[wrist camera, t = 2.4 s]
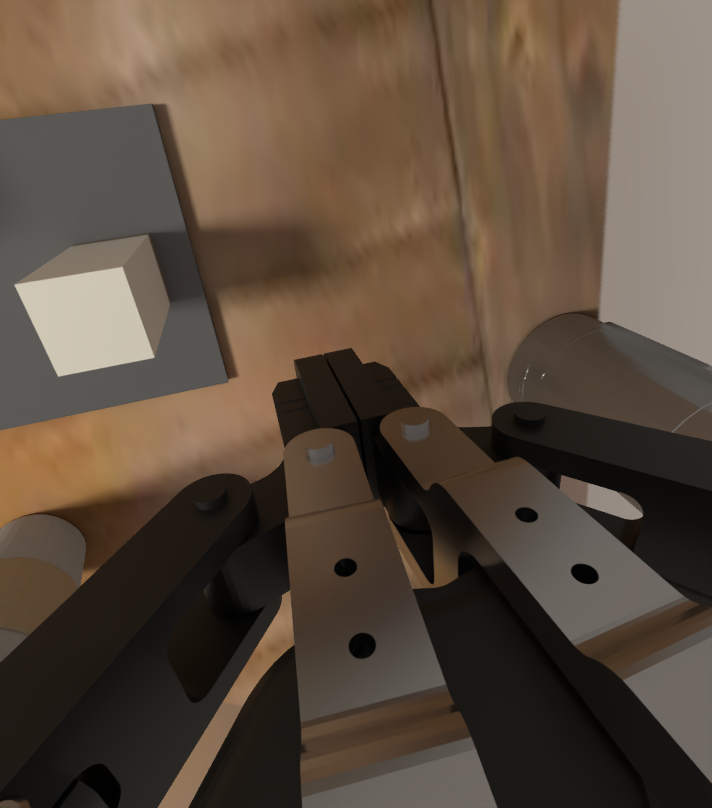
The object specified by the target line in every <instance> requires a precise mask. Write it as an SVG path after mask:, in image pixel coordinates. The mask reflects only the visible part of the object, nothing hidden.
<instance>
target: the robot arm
mask: <svg viewBox="0 0 712 808" xmlns="http://www.w3.org/2000/svg"><path fill="white" fill-rule="evenodd" d="M294 365H295V371H296V376H297V379H293V380H288V381H283V382H279V383H278V384H277V386H276V387H275V389H274V391H273V393H272V396H273V400H274V404H275V409H276V413H277V418H278V422H279V426H280V431H281V435H282V440H283V444H284V448H285V449H284V454H283V456H284V459H283V461H282V463H281V464H280V465H279V467H278V468H277V469H276V470H274V471H273V472H272V473H271V474H269V475H268V476H266V477H264V478H262V479H261V480H259V481H256V482H254V483H252V484H250V483H249V482H248V481H247V480H246V479H245V478H244V477H242V476H239V475H236V474H216V475H211V476H207V477H204V478H202V479H199V480H197V481H195V482H193V483H191V484H190V485H188V486H187V487H185V488H184V489H183V490H182V491H180V492H179V493H178V494H177V495H176V496H175V497H174V498H173V499H172V500H171V501H170V502H169V503H168V504H167V505H166V506H165V507H164V508H163V509H161V510H160V511H159V512H158V513H157V514H156V515H155V516H154V517H153V518H152V519H151V520H150V521H149V522H148V523H147V524H146V525H145V526H144V527H142V528H141V529H140V530H139V531H138V532H137V533H136V534H135V535H134V536H133V537H132V538H131V539H130V540H129V541H128V542H127V543H126V544H125V545H124V546H122V547H121V548H120V549H119V550H118V551H117V552H116V553H115V554H114V555H113V556H112V557H111V558H110V559H109V560H108V561H107V562H106V563H105V564H103V565H102V566H101V567H100V568H99V569H98V570H97V571H96V572H95V573H94V574H93V575H92V576H91V577H90V578H89V579H88V580H87V581H86V582H85V583H83V584H82V585H81V586H80V587H79V588H78V589H77V590H76V591H75V592H74V593H73V594H72V595H71V596H70V597H69V598H68V599H67V600H66V601H64V602H63V603H62V604H61V605H60V606H59V607H58V608H57V609H56V610H55V611H54V612H53V613H52V614H51V615H50V616H49V617H48V618H47V619H45V620H44V621H43V622H42V623H41V624H40V625H39V626H38V627H37V628H36V629H35V630H34V631H33V632H32V633H31V634H30V635H29V636H28V637H27V638H25V639H24V640H23V641H22V642H21V643H20V644H19V645H18V646H17V647H16V648H15V649H14V650H13V651H12V652H11V653H10V654H9V655H8V656H6V657H5V658H4V659H3V660H2V661H1V662H0V808H158V806H159V804H160V803H161V801H162V799H163V798H164V796H165V795H166V793H167V791H168V790H169V788H170V786H171V785H172V783H173V782H174V780H175V778H176V777H177V775H178V774H179V772H180V770H181V769H182V767H183V765H184V763H185V762H186V761H187V759H188V757H189V756H190V754H191V752H192V751H193V749H194V748H195V746H196V744H197V743H198V741H199V739H200V738H201V736H202V735H203V733H204V731H205V730H206V728H207V726H208V725H209V723H210V721H211V720H212V718H213V717H214V715H215V713H216V712H217V710H218V709H219V707H220V705H221V704H222V702H223V700H224V699H225V697H226V696H227V694H228V692H229V691H230V689H231V687H232V686H233V684H234V683H235V681H236V679H237V678H238V676H239V674H240V673H241V671H242V669H243V668H244V666H245V665H246V663H247V661H248V660H249V658H250V656H251V655H252V653H253V652H254V650H255V648H256V647H257V645H258V643H259V642H260V640H261V639H262V637H263V635H264V634H265V632H266V630H267V629H268V627H269V626H270V624H271V622H272V621H273V619H274V617H275V616H276V614H277V612H278V610H279V608H280V605H281V601H282V595H283V594H284V593H286V592H288V591H289V590H290V594H291V606H292V619H293V632H294V644H295V645H294V646H292V647H291V648H290V649H288V650H287V651H286V652H285V653H284V654H283V655H282V656H281V657H280V658H279V659H278V660H277V661H276V662H275V663H274V664H273V665H272V666H271V667H270V668H269V669H268V671H267V672H266V673H265V674H264V675H263V676H262V678H261V679H260V681H259V682H258V683H257V685H256V686H255V688H254V689H253V691H252V692H251V693H250V695H249V697H248V698H247V700H246V702H245V704H244V705H243V707H242V709H241V711H240V713H239V714H238V716H237V718H236V720H235V722H234V724H233V726H232V728H231V729H230V731H229V733H228V735H227V737H226V739H225V741H224V742H223V744H222V746H221V748H220V750H219V752H218V754H217V755H216V757H215V759H214V761H213V763H212V765H211V767H210V768H209V770H208V772H207V774H206V776H205V778H204V780H203V781H202V783H201V785H200V787H199V789H198V791H197V793H196V795H195V797H194V798H193V800H192V802H191V804H190V806H189V808H712V367H711V366H710V365H708V364H706V363H704V362H701V361H699V360H697V359H694V358H692V357H690V356H687V355H685V354H683V353H681V352H678V351H676V350H673V349H671V348H669V347H667V346H665V345H662V344H660V343H658V342H656V341H653V340H651V339H649V338H646V337H644V336H642V335H639V334H637V333H635V332H633V331H630V330H628V329H625V328H623V327H621V326H619V325H616V324H614V323H612V322H606V323H603V322H601V321H599V320H597V319H594V318H592V317H590V316H587V315H584V314H577V313H569V314H564V315H559V316H557V317H555V318H552V319H550V320H548V321H546V322H545V323H543V324H542V325H540V326H538V327H537V328H536V329H535V330H534V331H533V332H532V333H531V334H529V335H528V336H527V338H526V339H525V340H524V341H523V343H522V344H521V345H520V347H519V349H518V350H517V352H516V354H515V356H514V358H513V360H512V363H511V366H510V370H509V376H508V388H509V392H510V395H511V398H512V400H513V401H514V403H510V404H506V405H504V406H501V407H500V408H498V409H497V410H496V411H495V412H494V413H493V415H492V426H490V427H457V426H456V425H455V424H454V423H453V422H452V421H450V420H449V419H448V418H447V417H446V416H445V415H444V414H443V413H441V412H439V411H437V410H434V409H430V408H425V407H420V406H419V405H418V404H417V402H416V401H415V400H414V399H413V397H412V396H411V395H410V394H409V392H408V391H407V390H406V389H405V387H403V386H402V384H401V382H400V381H399V380H398V379H396V376H395V375H394V374H393V372H392V371H391V370H390V369H389V368H388V367H386V366H383V365H381V364H379V363H377V362H371V363H366V364H362V362H361V361H360V359H359V358H358V356H357V355H356V354H355V352H354V351H353V349H352V348H349V349H344V350H339V351H334V352H330V353H325V354H324V355H322V354H320V355H316V356H311V357H306V358H301V359H297V360H294ZM561 475H564V476H567V477H570V478H574V479H577V480H580V481H584V482H587V483H590V484H594V485H598V486H600V487H604V488H607V489H611V490H614V491H617V492H618V493H619V494H620V495H621V496H622V497H624V498H625V499H626V500H627V501H628V502H630V503H631V504H632V505H633V506H634V507H635V508H636V509H638V510H639V511H640V512H641V513H642V514H643V517H642V518H640V519H636V520H628V519H623V518H620V517H617V516H614V515H611V514H608V513H605V512H602V511H599V510H596V509H593V508H590V507H586V506H583V505H580V504H577V503H575V502H574V501H572V500H571V499H570V498H569V497H568V496H567V495H565V494H564V493H563V492H562V491H561V490H560V482H561ZM384 507H386V509H387V512H388V515H389V521H388V518H387V516H386V513H385V510H384ZM397 545H398V547H399V549H400V551H401V552H402V554H403V556H404V557H405V559H406V561H407V563H408V564H409V566H410V568H411V570H412V571H413V573H414V575H415V576H416V578H417V580H418V582H419V583H420V585H421V587H422V588H421V589H412V586H411V583H410V581H409V578H408V575H407V572H406V569H405V567H404V564H403V561H402V558H401V555H400V552H399V550H398V547H397Z"/></svg>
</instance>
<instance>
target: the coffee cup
mask: <svg viewBox="0 0 712 808" xmlns="http://www.w3.org/2000/svg"><path fill="white" fill-rule="evenodd" d="M85 554H86V542H85V539H84V537H83V535H82V534H81V532H80V531H79V530H78V529H77V528H76V527H75V526H73V525H72V524H71V523H69V522H67V521H65V520H64V519H61V518H58V517H56V516H51V515H45V514H35V515H28V516H24V517H20V518H18V519H15V520H13V521H11V522H9V523H8V524H6V525H4V526H3V527H2V528H1V529H0V662H1V661H2V660H3V659H4V658H5V657H6V656H8V655H9V654H10V653H11V652H12V651H13V650H14V649H15V648H16V647H17V646H18V645H19V644H20V643H21V642H22V641H23V640H24V639H25V638H27V637H28V636H29V635H30V634H31V633H32V632H33V631H34V630H35V629H36V628H37V627H38V626H39V625H40V624H41V623H42V622H43V621H44V620H45V619H47V618H48V617H49V616H50V615H51V614H52V613H53V612H54V611H55V610H56V609H57V608H58V607H59V606H60V605H61V604H62V603H63V602H64V601H66V600H67V599H68V598H69V597H70V596H71V595H72V594H73V593H74V592H75V591H76V590H77V589H78V588H79V587H80V585H81V578H82V572H83V566H84V560H85Z"/></svg>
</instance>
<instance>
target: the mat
mask: <svg viewBox="0 0 712 808" xmlns="http://www.w3.org/2000/svg"><path fill="white" fill-rule="evenodd" d="M147 233H150V237H151V240H152V243H153V246H154V249H155V253H156V256H157V259H158V262H159V265H160V268H161V272H162V275H163V278H164V281H165V284H166V287H167V291H168V294H169V297H170V300H171V304H170V307H169V311H168V314H167V317H166V321H165V324H164V328H163V331H162V334H161V338H160V341H159V345H158V348H157V351H156V355H155V358H151V359H146V360H141V361H136V362H131V363H125V364H120V365H115V366H110V367H105V368H100V369H95V370H90V371H85V372H80V373H74V374H69V375H64V376H59V377H58V375H57V373H56V371H55V369H54V367H53V365H52V363H51V361H50V358H49V356H48V354H47V352H46V350H45V348H44V346H43V344H42V342H41V340H40V338H39V335H38V333H37V331H36V329H35V327H34V325H33V323H32V321H31V319H30V317H29V315H28V312H27V310H26V308H25V306H24V304H23V302H22V300H21V298H20V296H19V294H18V291H17V289H16V287H15V285H14V284H16V283H17V282H19V281H20V280H22V279H23V278H25V277H26V276H28V275H29V274H31V273H32V272H34V271H35V270H37V269H38V268H40V267H41V266H43V265H44V264H46V263H47V262H49V261H50V260H52V259H53V258H55V257H56V256H58V255H59V254H61V253H62V252H64V251H65V250H67V249H68V248H70V247H71V246H73V245H75V244H81V243H88V242H94V241H101V240H108V239H114V238H121V237H127V236H134V235H140V234H147ZM227 382H228V376H227V372H226V368H225V365H224V361H223V358H222V354H221V350H220V347H219V343H218V339H217V336H216V332H215V329H214V325H213V321H212V318H211V314H210V310H209V307H208V303H207V300H206V296H205V292H204V289H203V285H202V281H201V278H200V274H199V271H198V267H197V263H196V260H195V256H194V252H193V249H192V245H191V241H190V238H189V234H188V231H187V227H186V223H185V220H184V216H183V212H182V209H181V205H180V202H179V198H178V194H177V191H176V187H175V183H174V180H173V176H172V173H171V169H170V165H169V162H168V158H167V154H166V151H165V147H164V143H163V140H162V136H161V133H160V129H159V125H158V122H157V118H156V114H155V111H154V107H153V104H144V105H135V106H125V107H116V108H107V109H98V110H88V111H79V112H70V113H61V114H51V115H42V116H33V117H24V118H14V119H5V120H0V430H3V429H8V428H13V427H18V426H22V425H27V424H32V423H37V422H41V421H46V420H51V419H56V418H60V417H65V416H70V415H75V414H79V413H84V412H89V411H94V410H98V409H103V408H108V407H113V406H117V405H122V404H127V403H132V402H136V401H141V400H146V399H151V398H156V397H160V396H165V395H170V394H175V393H179V392H184V391H189V390H194V389H198V388H203V387H208V386H213V385H217V384H222V383H227Z"/></svg>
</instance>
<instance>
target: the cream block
mask: <svg viewBox="0 0 712 808" xmlns="http://www.w3.org/2000/svg"><path fill="white" fill-rule="evenodd" d="M14 285H15V287H16V289H17V291H18V294H19V296H20V298H21V300H22V302H23V304H24V306H25V308H26V310H27V312H28V315H29V317H30V319H31V321H32V323H33V325H34V327H35V329H36V331H37V333H38V335H39V338H40V340H41V342H42V344H43V346H44V348H45V350H46V352H47V354H48V356H49V358H50V361H51V363H52V365H53V367H54V369H55V371H56V373H57V375H58V377H59V376H64V375H69V374H74V373H80V372H85V371H90V370H95V369H100V368H105V367H110V366H115V365H120V364H125V363H131V362H136V361H141V360H146V359H151V358H155V355H156V351H157V348H158V345H159V341H160V338H161V334H162V331H163V328H164V324H165V321H166V317H167V314H168V311H169V307H170V304H171V300H170V297H169V294H168V291H167V287H166V284H165V281H164V278H163V275H162V272H161V268H160V265H159V262H158V259H157V256H156V253H155V249H154V246H153V243H152V240H151V237H150V233H147V234H140V235H134V236H127V237H121V238H114V239H108V240H101V241H94V242H88V243H81V244H75V245H73V246H71V247H70V248H68V249H67V250H65V251H64V252H62V253H61V254H59V255H58V256H56V257H55V258H53V259H52V260H50V261H49V262H47V263H46V264H44V265H43V266H41V267H40V268H38V269H37V270H35V271H34V272H32V273H31V274H29V275H28V276H26V277H25V278H23V279H22V280H20V281H19V282H17V283H16V284H14Z"/></svg>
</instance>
